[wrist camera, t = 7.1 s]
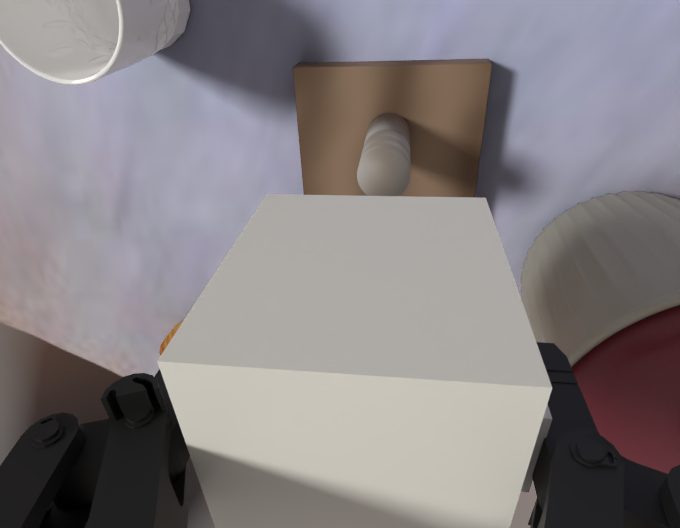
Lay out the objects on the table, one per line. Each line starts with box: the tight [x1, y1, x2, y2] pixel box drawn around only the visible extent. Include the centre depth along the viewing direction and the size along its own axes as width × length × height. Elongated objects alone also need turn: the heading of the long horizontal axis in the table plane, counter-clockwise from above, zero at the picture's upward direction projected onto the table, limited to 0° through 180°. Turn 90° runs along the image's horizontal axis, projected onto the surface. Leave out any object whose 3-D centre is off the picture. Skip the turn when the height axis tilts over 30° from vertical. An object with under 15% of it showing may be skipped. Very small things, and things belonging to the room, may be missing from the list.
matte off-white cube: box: [157, 194, 552, 528], centre depth 13 cm, size 7×7×8 cm
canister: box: [521, 191, 680, 474], centre depth 28 cm, size 18×18×21 cm
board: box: [293, 59, 492, 197], centre depth 33 cm, size 13×21×10 cm, turn 2°
